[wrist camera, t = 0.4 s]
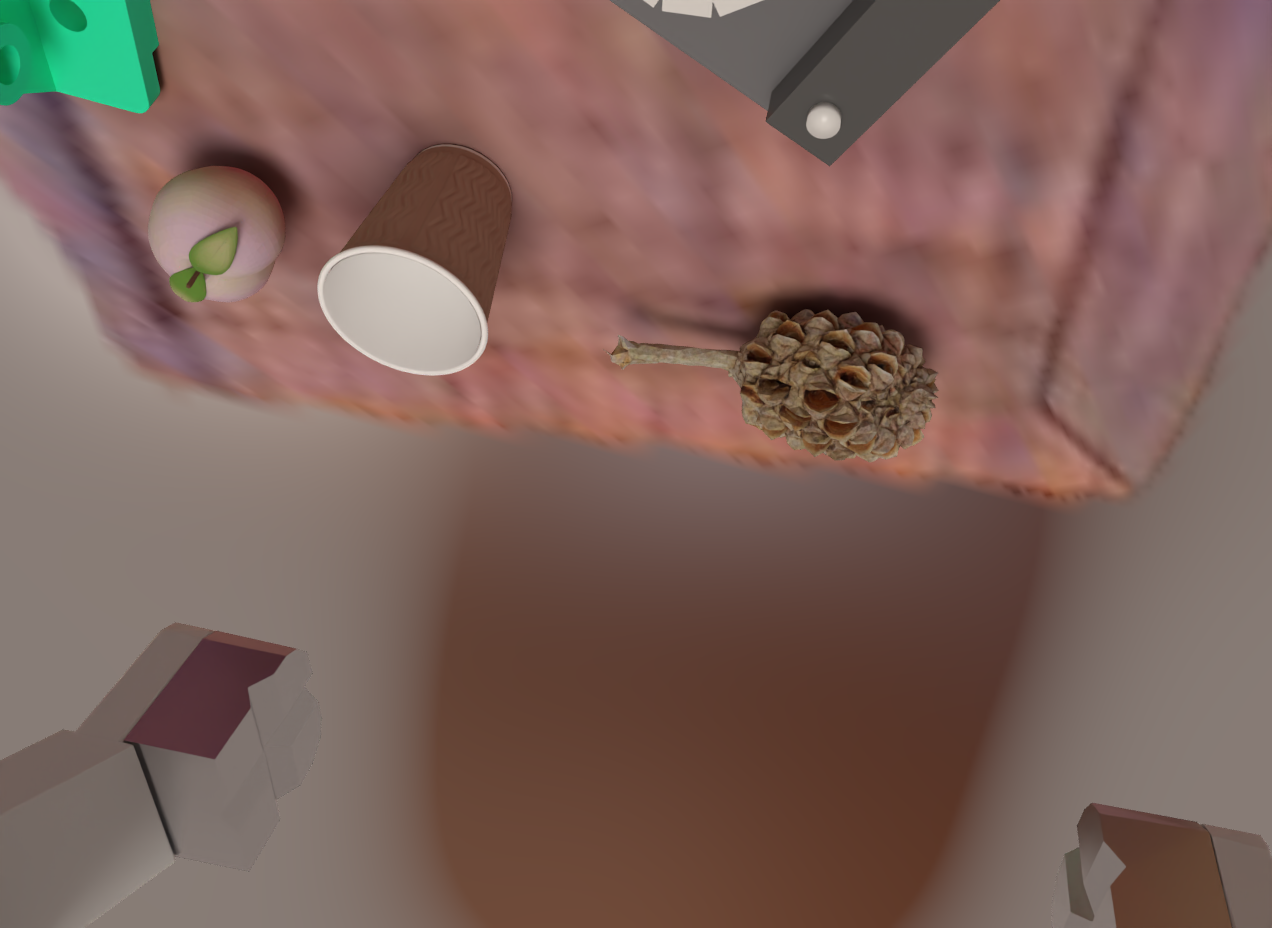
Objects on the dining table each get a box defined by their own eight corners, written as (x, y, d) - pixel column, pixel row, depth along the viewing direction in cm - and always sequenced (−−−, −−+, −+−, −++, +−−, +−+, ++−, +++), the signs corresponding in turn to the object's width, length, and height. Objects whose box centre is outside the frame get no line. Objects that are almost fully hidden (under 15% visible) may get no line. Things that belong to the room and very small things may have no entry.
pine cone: (951, 286, 69) (948, 402, 63) (930, 387, 77) (925, 499, 71) (614, 259, 73) (581, 367, 67) (626, 358, 81) (597, 462, 75)
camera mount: (170, 92, 69) (91, 194, 63) (54, 61, 69) (-37, 160, 63) (132, -91, 60) (34, 8, 54) (-4, -128, 60) (-117, -33, 54)
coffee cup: (388, 228, 75) (325, 354, 68) (380, 102, 67) (306, 230, 59) (533, 263, 75) (485, 392, 68) (542, 141, 66) (488, 273, 59)
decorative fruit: (204, 105, 69) (130, 205, 64) (323, 172, 72) (263, 274, 66) (176, 196, 76) (108, 293, 70) (286, 254, 79) (228, 353, 73)
